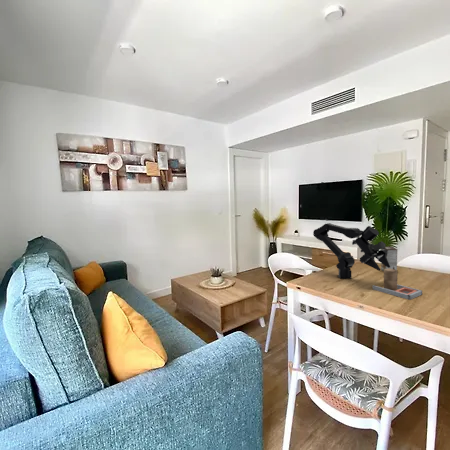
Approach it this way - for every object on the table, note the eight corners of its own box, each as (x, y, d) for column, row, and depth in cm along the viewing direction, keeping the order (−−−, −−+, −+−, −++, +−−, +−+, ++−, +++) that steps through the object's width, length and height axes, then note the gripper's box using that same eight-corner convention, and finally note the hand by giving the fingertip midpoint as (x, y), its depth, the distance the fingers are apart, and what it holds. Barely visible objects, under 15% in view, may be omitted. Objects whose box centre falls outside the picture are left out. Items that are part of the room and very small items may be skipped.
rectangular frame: (394, 294, 127) (394, 291, 127) (404, 290, 132) (404, 287, 132) (408, 298, 122) (408, 294, 122) (417, 294, 126) (417, 290, 126)
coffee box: (380, 269, 170) (381, 246, 169) (391, 269, 169) (391, 246, 167) (386, 273, 161) (386, 249, 160) (397, 273, 160) (398, 249, 158)
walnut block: (383, 289, 134) (383, 269, 133) (388, 288, 137) (388, 268, 135) (392, 292, 130) (392, 271, 129) (397, 290, 133) (397, 270, 132)
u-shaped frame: (372, 289, 136) (372, 285, 136) (384, 284, 142) (385, 281, 141) (409, 299, 120) (409, 295, 120) (422, 294, 126) (422, 290, 126)
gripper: (364, 239, 134) (386, 263, 125) (384, 235, 143) (405, 257, 134) (351, 251, 141) (370, 274, 133) (370, 247, 150) (390, 268, 142)
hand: (384, 268), depth 135 cm, fingers open, 9 cm apart
